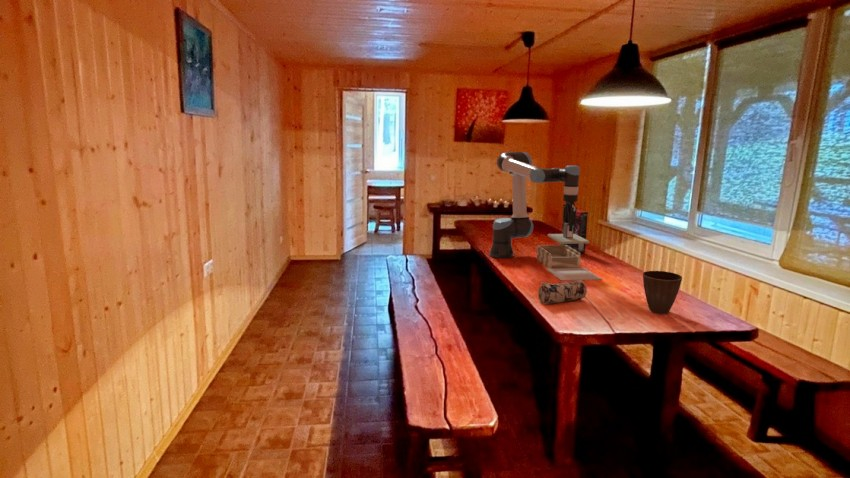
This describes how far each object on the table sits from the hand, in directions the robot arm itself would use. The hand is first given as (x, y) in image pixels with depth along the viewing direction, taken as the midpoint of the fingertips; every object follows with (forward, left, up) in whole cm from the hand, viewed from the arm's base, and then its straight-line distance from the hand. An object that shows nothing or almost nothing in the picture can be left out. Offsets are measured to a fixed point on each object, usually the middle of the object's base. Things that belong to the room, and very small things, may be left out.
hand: (567, 235), depth 267 cm
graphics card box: (+22, +44, -20) cm, 53 cm away
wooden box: (0, +13, -19) cm, 24 cm away
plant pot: (+14, -69, -20) cm, 73 cm away
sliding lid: (0, 0, -2) cm, 2 cm away
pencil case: (-22, -52, -20) cm, 60 cm away
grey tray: (0, -10, -19) cm, 22 cm away
